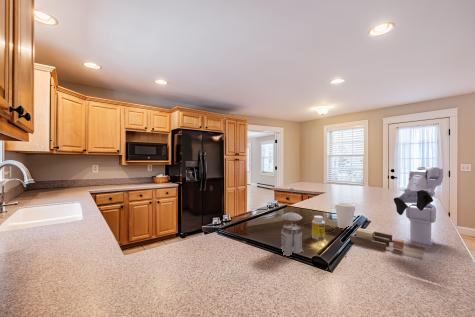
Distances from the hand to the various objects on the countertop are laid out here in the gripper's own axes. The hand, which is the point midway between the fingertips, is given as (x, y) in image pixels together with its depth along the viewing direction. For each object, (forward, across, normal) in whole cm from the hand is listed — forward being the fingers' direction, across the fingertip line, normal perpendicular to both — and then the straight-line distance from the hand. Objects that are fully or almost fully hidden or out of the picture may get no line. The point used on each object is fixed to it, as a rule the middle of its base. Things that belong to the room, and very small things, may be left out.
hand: (408, 210), depth 82 cm
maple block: (+9, -15, +6) cm, 19 cm away
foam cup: (-1, -36, +3) cm, 36 cm away
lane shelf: (+6, -15, +10) cm, 19 cm away
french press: (+38, -23, -18) cm, 48 cm away
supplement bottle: (+19, -31, -9) cm, 37 cm away
